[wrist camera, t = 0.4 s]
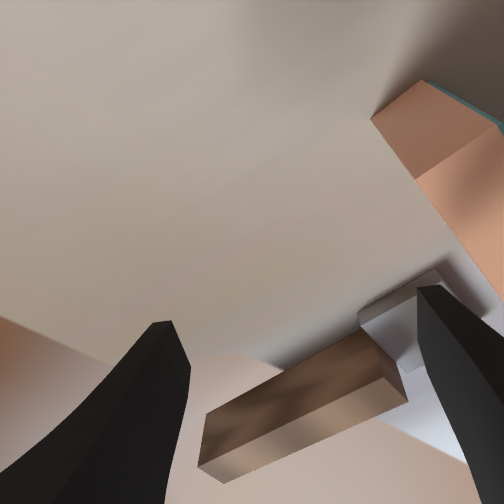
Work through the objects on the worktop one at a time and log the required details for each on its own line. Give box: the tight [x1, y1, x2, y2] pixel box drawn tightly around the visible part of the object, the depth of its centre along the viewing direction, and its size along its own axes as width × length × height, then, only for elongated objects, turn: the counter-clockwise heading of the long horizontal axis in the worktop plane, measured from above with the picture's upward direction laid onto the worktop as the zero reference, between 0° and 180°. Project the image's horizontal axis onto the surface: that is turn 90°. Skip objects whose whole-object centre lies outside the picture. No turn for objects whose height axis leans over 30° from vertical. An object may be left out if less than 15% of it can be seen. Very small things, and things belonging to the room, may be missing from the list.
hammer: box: [198, 268, 464, 484], centre depth 25 cm, size 19×5×4 cm, turn 132°
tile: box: [370, 79, 504, 302], centre depth 16 cm, size 7×3×7 cm, turn 42°
